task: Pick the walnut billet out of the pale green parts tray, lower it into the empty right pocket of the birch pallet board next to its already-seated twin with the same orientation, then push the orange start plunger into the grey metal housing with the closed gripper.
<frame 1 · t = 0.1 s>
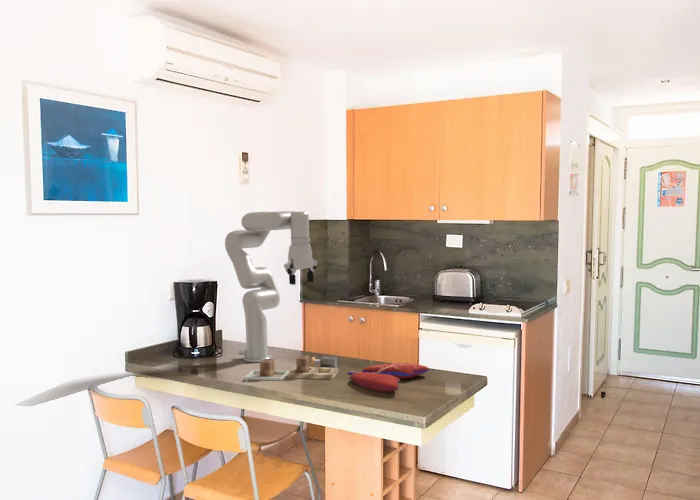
hand: (301, 283, 250), 37 cm above the counter, tool pointing down, fingers open, 9 cm apart
anatomical model: (379, 382, 237), on the counter
billet B: (267, 377, 243), resting on tote
tote: (267, 379, 243), on the counter
plunger: (317, 361, 253), point 4 cm above the counter, slide at 0.0 cm
pallet: (313, 377, 244), on the counter
grey metal housing: (321, 370, 253), on the counter
billet A: (303, 374, 244), point 1 cm above the counter, touching pallet
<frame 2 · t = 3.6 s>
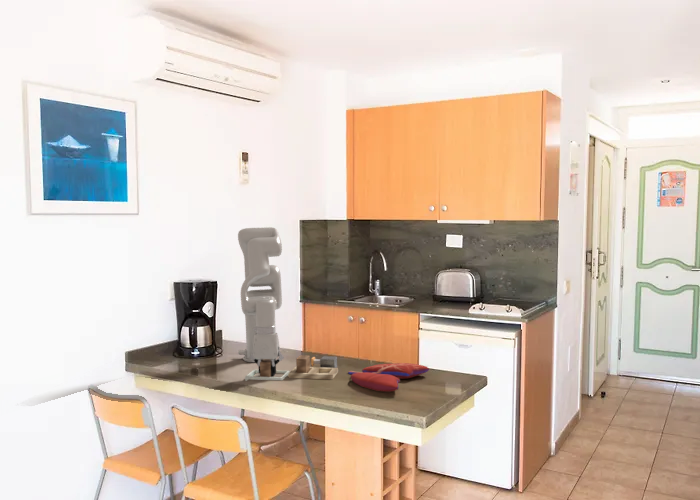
hand: (267, 374, 243), 2 cm above the counter, tool pointing down, fingers closed on billet B, 4 cm apart
billet B: (267, 377, 243), point 1 cm above the counter, touching gripper, tote
everything else where it was.
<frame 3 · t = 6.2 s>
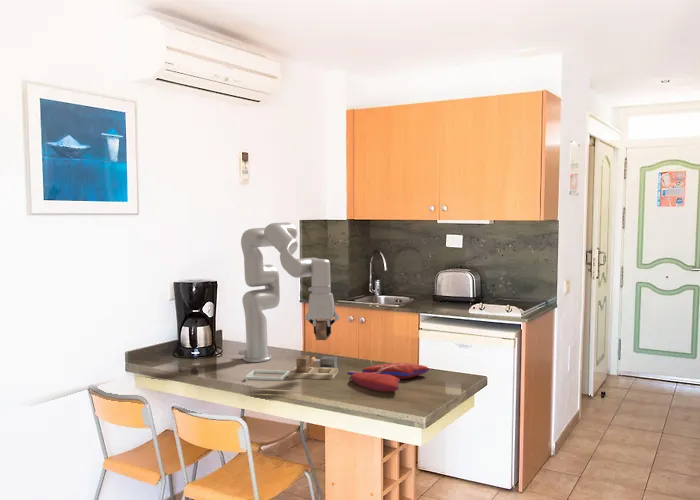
hand: (322, 335, 242), 17 cm above the counter, tool pointing down, fingers closed on billet B, 4 cm apart
billet B: (322, 338, 242), point 16 cm above the counter, touching gripper
everything else where it was.
when the fingers open (4 cm above the counter, at t = 9.0 s): billet B drops 1 cm, resting on pallet.
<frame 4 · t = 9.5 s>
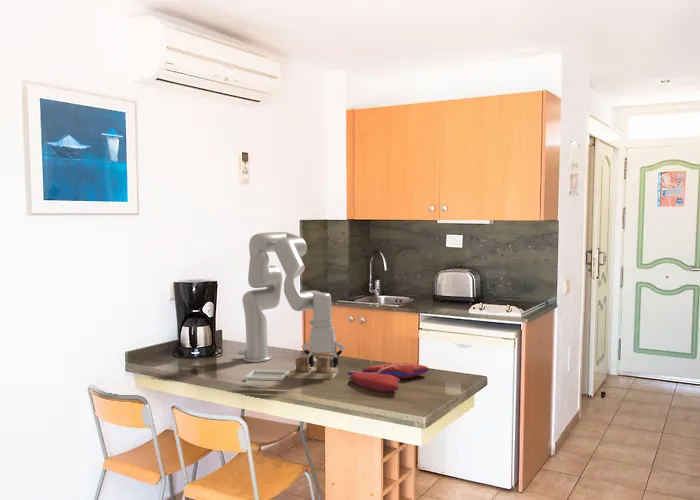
hand: (323, 366, 243), 5 cm above the counter, tool pointing down, fingers open, 9 cm apart
billet B: (323, 374, 243), point 1 cm above the counter, touching pallet
billet A: (303, 374, 244), point 1 cm above the counter, touching gripper, pallet
everything else where it was.
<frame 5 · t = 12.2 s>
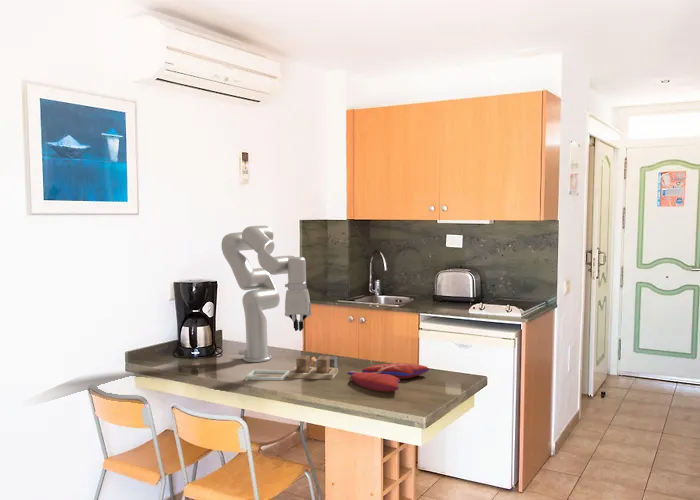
hand: (298, 330, 254), 17 cm above the counter, tool pointing down, fingers closed
billet A: (303, 374, 244), point 1 cm above the counter, touching pallet
everything else where it was.
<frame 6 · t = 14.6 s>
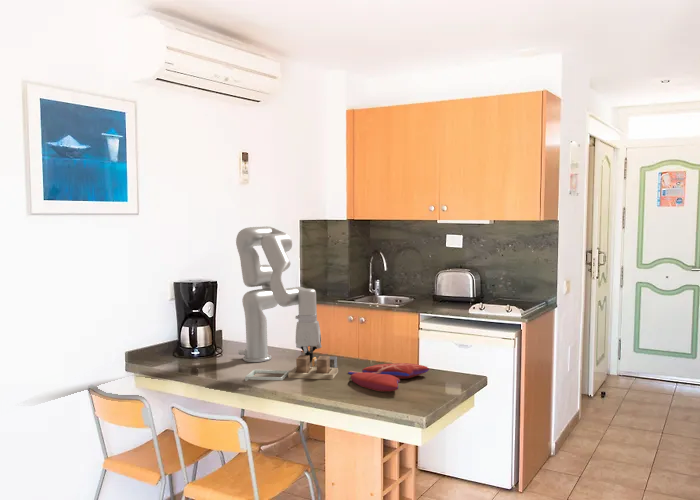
hand: (309, 361, 254), 4 cm above the counter, tool pointing down, fingers closed
plunger: (318, 361, 253), point 4 cm above the counter, slide at 0.5 cm, touching gripper
everything else where it was.
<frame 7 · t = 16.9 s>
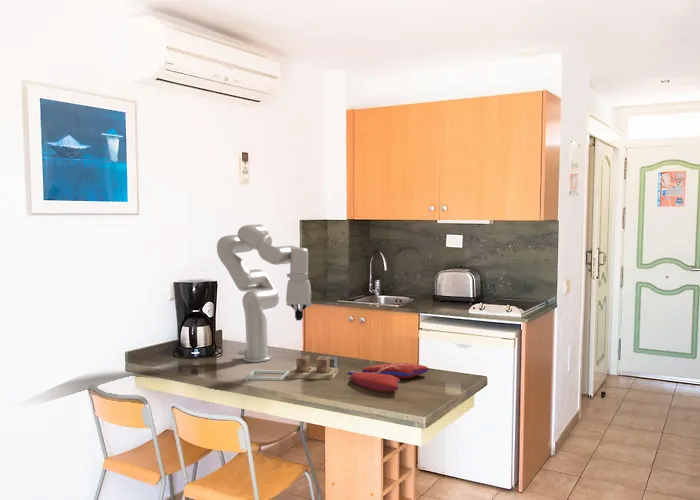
hand: (298, 319, 257), 21 cm above the counter, tool pointing down, fingers closed
plunger: (323, 361, 253), point 4 cm above the counter, slide at 2.3 cm
everything else where it was.
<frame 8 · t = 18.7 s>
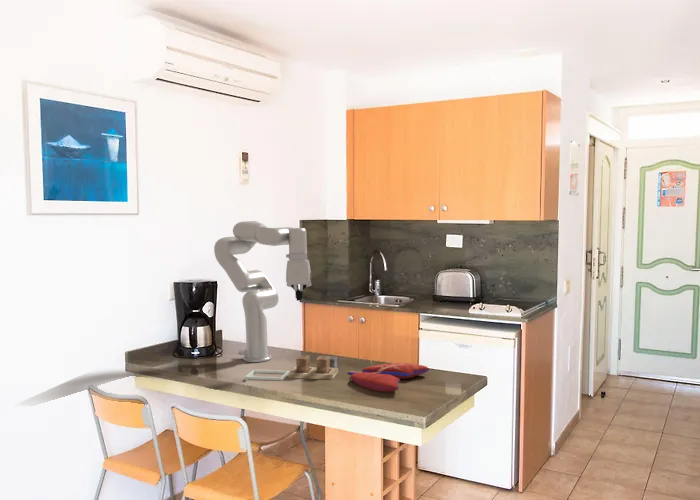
hand: (299, 300, 258), 29 cm above the counter, tool pointing down, fingers closed
nothing on the counter moved.
at the end: billet B 0.1 cm from the target spot on the pallet, point 1.2 cm above the pallet's base; billet B tilted 0°; plunger slide at 2.3 cm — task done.
